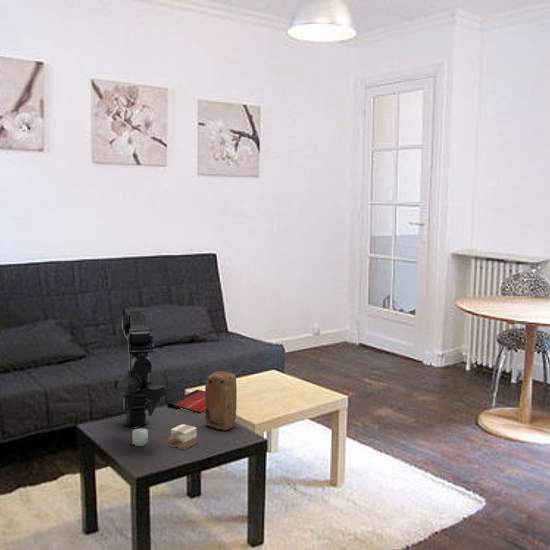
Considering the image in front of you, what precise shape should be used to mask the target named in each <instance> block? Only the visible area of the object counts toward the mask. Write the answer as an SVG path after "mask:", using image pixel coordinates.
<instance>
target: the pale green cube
mask: <svg viewBox="0 0 550 550" xmlns="http://www.w3.org/2000/svg"><path fill="white" fill-rule="evenodd" d="M148 431H149V430H148V429H146V428H143V427H142V428H141V427H138V428H134V429H133V430H132V445H133V444H135V445H143V444H146V443H147V442H148V443H149V439H148V437H149V432H148Z"/></svg>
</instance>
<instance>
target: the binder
mask: <svg viewBox="0 0 550 550" xmlns="http://www.w3.org/2000/svg"><path fill="white" fill-rule="evenodd" d="M173 406H176V407H178V408H177V409H180V408H183V409H187V410H189V411H193V412H192V413H194V412H197V413H196V414H202V413H201V412H204V411H205V410H206V403H205V390H201V389H195V390H193V391H191V392H189V393H187V394H185V395H183V396H180V397H178V398H176V399H174V400H172V401H169V402H167V405H166V407H167V408H170V407H173ZM179 407H180V408H179ZM204 413H205V412H204Z"/></svg>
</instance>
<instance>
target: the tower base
mask: <svg viewBox="0 0 550 550" xmlns="http://www.w3.org/2000/svg"><path fill="white" fill-rule="evenodd" d="M197 442H198V443H199V436H196V437H194V438H192V439H190V440H188V441H186V442H184V441H180V440H177V439H173V438H171V436H170V437H168V438H167V445H168V444H171V445H174V446H177V447H180V448H187V447H189V446H191V445H193V444H195V443H197Z"/></svg>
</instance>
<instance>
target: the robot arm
mask: <svg viewBox="0 0 550 550" xmlns="http://www.w3.org/2000/svg"><path fill="white" fill-rule="evenodd" d="M149 329H150V328H149V327H147V316H146V315H145V314H144V313H143V310H137V309H135V310H133V309H132V310H128V311H127V313H126V314H125V315H123V316H122V319H121V330H122V331H123V335H124V337H125V338H126V340H127V348H128V349H127V351H128V364H129V365H128V366H129V368H128V369H129V370H128V371H127V376H126V377H122V378H119V379H117V380H115V381H114V383H113V387H114V388H113V389H114V390H116V391H117V392H118V393H119V394H121V395H122V397H123V402H122V403H123V409H124V410H123V411H124V412H125V411H126V422H124V423H123V424H125V425H124V426H126V425H128V426H127V427H129V426H132V427H138V426H141V427H143V426H145V425H144V424H146V422H147V423H148V424H149V421H147V419H146V417H147V416H146V415H148V417H151V416H152V415H153V413H154V411H155V409H156V407H157V404H158V403H159V401H160V399H161V398H163V397H164V396H167V388H166V387H165V386H164V385H159V384H155V385H152V381H151V380H149V379H150V378H149V375H150V373H152V369H153V368H152V367H153V365H152V362H151V360H150V357H149V353H153V352H154V351H153V350H155V343H154V342H155V341H154V340H155V339H154V335H153V333H152V332H150V330H149ZM151 385H152V386H151ZM146 410H147V413H148V414H146ZM142 425H143V426H142ZM146 425H147V424H146ZM132 427H131V428H132ZM138 428H139V427H138Z"/></svg>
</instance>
